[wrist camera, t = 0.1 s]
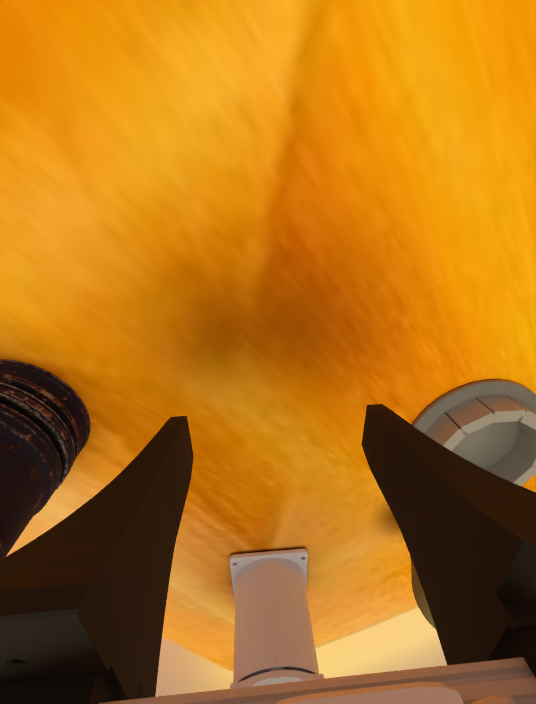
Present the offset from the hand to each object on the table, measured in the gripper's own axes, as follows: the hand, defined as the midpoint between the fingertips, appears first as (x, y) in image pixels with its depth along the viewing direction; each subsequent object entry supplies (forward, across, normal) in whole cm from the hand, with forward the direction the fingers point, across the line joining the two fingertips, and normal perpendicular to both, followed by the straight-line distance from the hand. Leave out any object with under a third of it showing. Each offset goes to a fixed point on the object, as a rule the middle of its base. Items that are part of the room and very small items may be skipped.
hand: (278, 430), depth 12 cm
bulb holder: (+10, -18, +11) cm, 23 cm away
